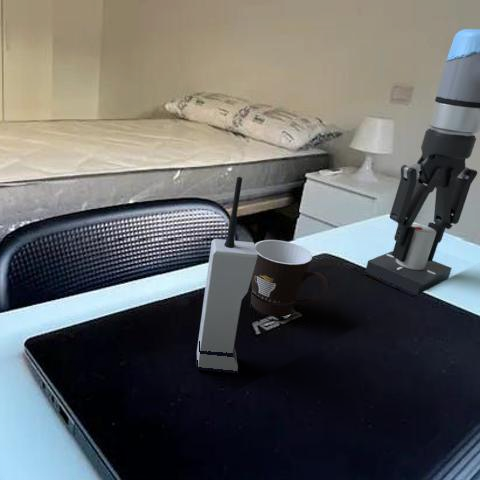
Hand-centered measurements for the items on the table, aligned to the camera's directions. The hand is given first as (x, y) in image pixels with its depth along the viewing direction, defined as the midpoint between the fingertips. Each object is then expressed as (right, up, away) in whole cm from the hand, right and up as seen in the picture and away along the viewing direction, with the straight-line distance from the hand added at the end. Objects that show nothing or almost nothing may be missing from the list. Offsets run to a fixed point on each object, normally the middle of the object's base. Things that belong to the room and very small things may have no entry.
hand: (411, 258), depth 91 cm
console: (0, -4, +2) cm, 4 cm away
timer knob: (0, -1, 0) cm, 1 cm away
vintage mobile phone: (-39, -13, -27) cm, 49 cm away
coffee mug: (-28, -8, -14) cm, 33 cm away
